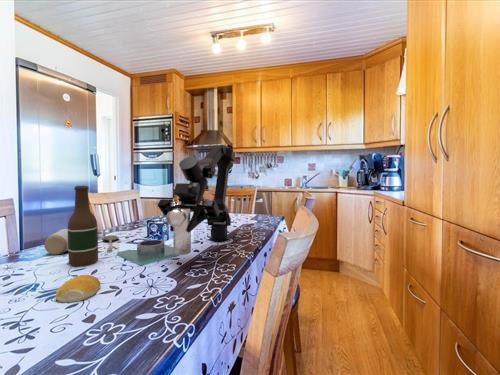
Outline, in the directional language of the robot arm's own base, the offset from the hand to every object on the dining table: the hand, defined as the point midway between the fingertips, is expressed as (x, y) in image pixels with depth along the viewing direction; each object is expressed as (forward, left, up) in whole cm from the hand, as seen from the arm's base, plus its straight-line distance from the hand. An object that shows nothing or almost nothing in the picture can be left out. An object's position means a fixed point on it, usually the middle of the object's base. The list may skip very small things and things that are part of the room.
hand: (179, 231), depth 77 cm
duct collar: (-1, -19, -11) cm, 22 cm away
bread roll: (+25, -4, -11) cm, 28 cm away
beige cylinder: (+17, -45, -11) cm, 49 cm away
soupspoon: (+3, -43, -12) cm, 44 cm away
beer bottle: (+17, -27, -11) cm, 33 cm away
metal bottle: (0, 0, -7) cm, 7 cm away
